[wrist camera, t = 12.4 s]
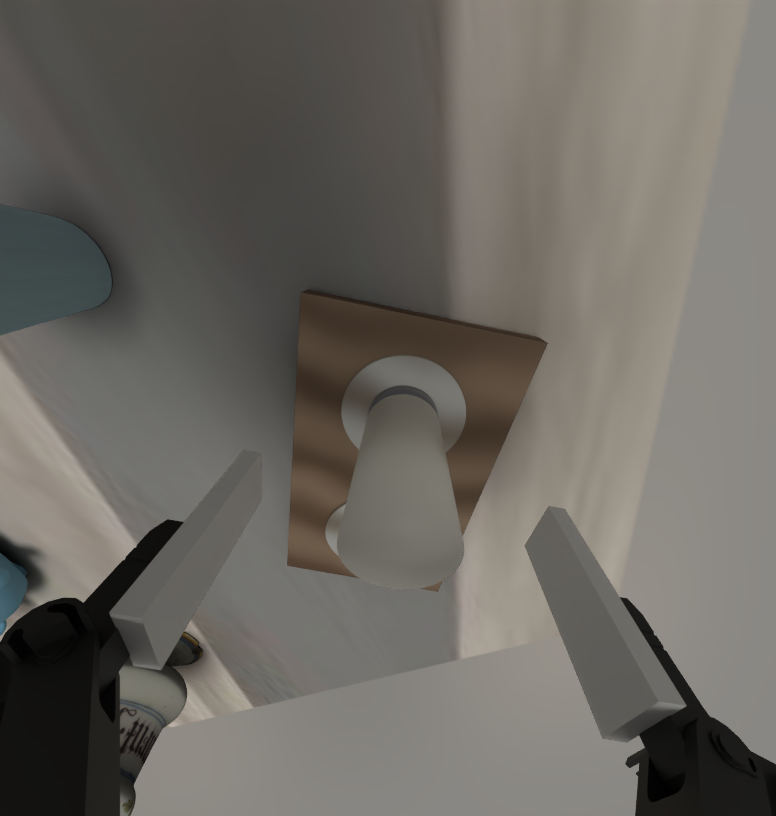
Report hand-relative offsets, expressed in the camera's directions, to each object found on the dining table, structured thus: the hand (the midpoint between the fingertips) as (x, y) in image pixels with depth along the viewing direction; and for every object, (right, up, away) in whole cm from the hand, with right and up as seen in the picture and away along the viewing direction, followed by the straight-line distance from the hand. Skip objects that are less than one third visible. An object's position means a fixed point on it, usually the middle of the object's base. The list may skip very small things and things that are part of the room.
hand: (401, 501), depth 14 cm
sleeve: (0, +4, +8) cm, 9 cm away
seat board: (-1, -1, +13) cm, 13 cm away
